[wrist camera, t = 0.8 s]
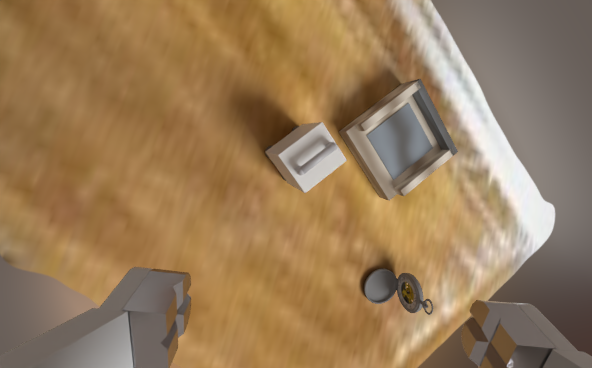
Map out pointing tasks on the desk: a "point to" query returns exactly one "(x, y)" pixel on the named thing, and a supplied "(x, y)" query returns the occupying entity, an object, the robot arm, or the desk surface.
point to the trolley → (306, 155)
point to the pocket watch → (385, 284)
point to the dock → (399, 140)
